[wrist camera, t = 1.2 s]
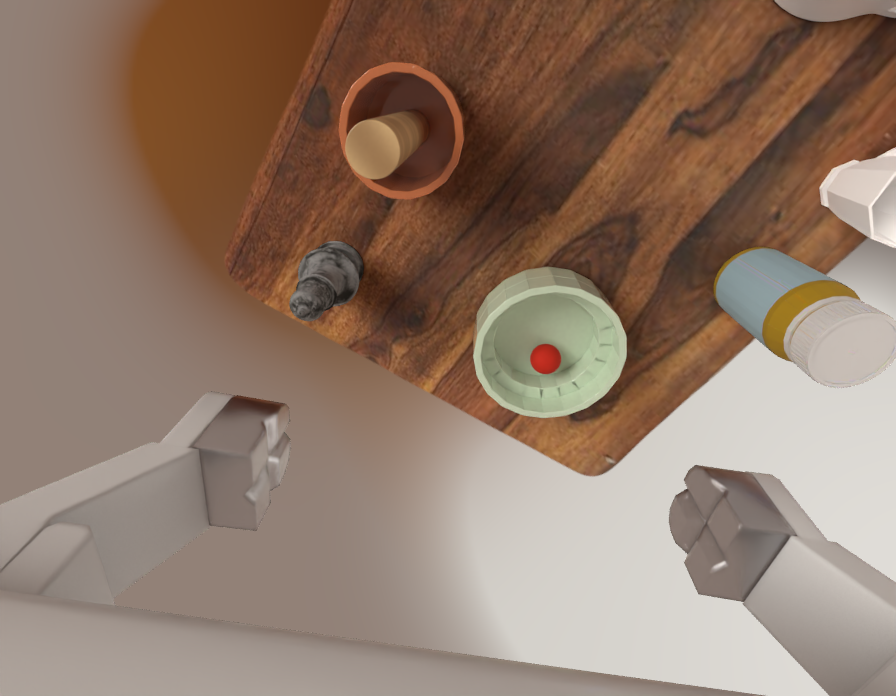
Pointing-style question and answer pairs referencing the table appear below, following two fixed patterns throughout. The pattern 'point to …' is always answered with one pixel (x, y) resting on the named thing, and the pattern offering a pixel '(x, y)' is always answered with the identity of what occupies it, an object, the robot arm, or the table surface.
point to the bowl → (548, 342)
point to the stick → (385, 142)
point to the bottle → (806, 317)
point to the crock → (400, 92)
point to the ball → (545, 358)
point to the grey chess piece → (326, 280)
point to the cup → (865, 196)
